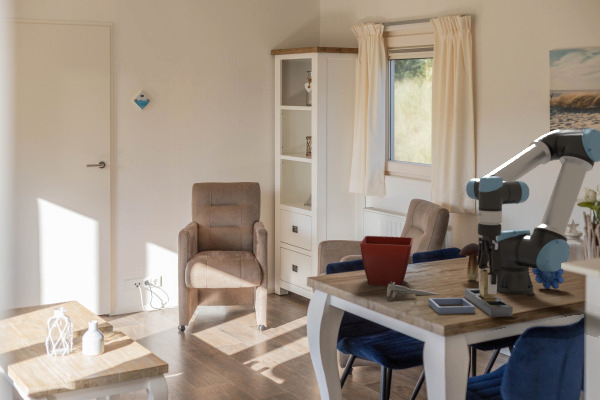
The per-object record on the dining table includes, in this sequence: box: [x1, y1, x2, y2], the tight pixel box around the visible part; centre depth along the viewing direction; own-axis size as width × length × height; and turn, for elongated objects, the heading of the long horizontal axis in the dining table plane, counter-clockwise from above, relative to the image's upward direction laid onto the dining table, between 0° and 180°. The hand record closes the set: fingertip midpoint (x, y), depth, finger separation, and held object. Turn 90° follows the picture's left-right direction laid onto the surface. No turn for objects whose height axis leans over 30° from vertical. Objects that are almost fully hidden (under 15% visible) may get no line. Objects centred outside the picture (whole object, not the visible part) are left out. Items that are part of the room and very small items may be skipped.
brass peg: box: [480, 269, 497, 299], centre depth 235 cm, size 4×4×12 cm
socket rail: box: [464, 287, 514, 318], centre depth 235 cm, size 26×7×4 cm, turn 5°
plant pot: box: [359, 235, 414, 287], centre depth 275 cm, size 19×19×17 cm
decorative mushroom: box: [458, 242, 479, 281], centre depth 279 cm, size 11×11×15 cm
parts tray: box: [427, 297, 476, 315], centre depth 232 cm, size 12×12×3 cm
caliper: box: [386, 282, 441, 299], centre depth 251 cm, size 20×1×6 cm, turn 95°
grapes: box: [531, 268, 565, 290], centre depth 264 cm, size 12×7×12 cm, turn 62°
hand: (487, 290), depth 235 cm, fingers open, 8 cm apart
